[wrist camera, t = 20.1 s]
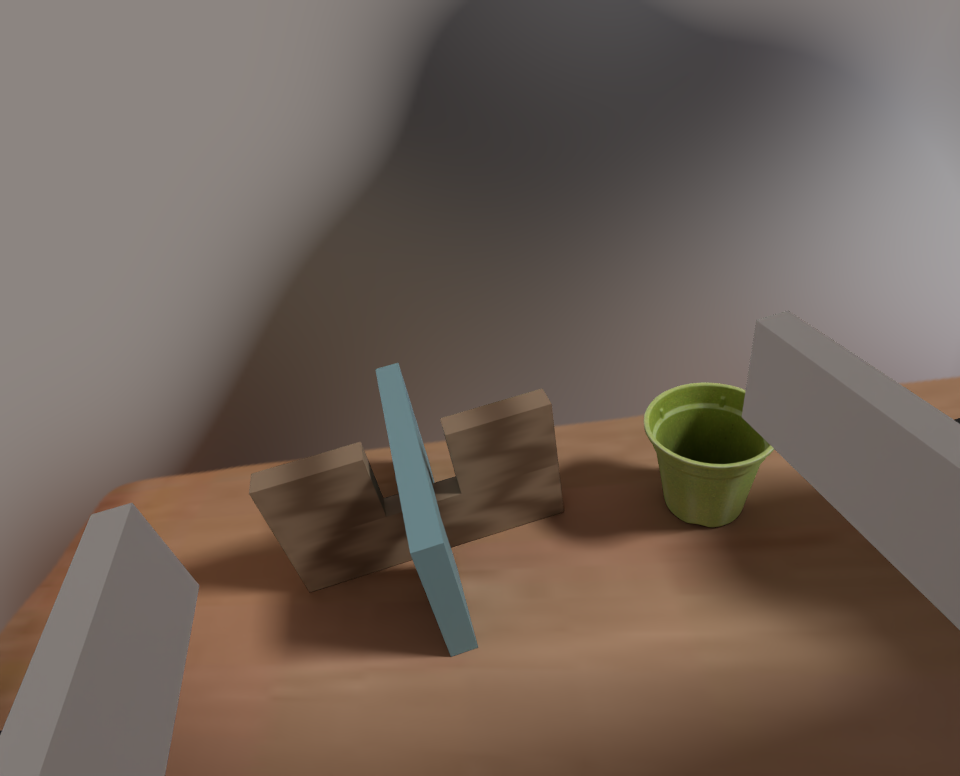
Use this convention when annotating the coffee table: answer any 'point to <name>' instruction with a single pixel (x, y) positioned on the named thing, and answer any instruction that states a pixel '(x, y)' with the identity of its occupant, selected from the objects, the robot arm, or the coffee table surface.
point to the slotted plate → (424, 515)
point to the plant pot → (704, 451)
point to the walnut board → (379, 521)
